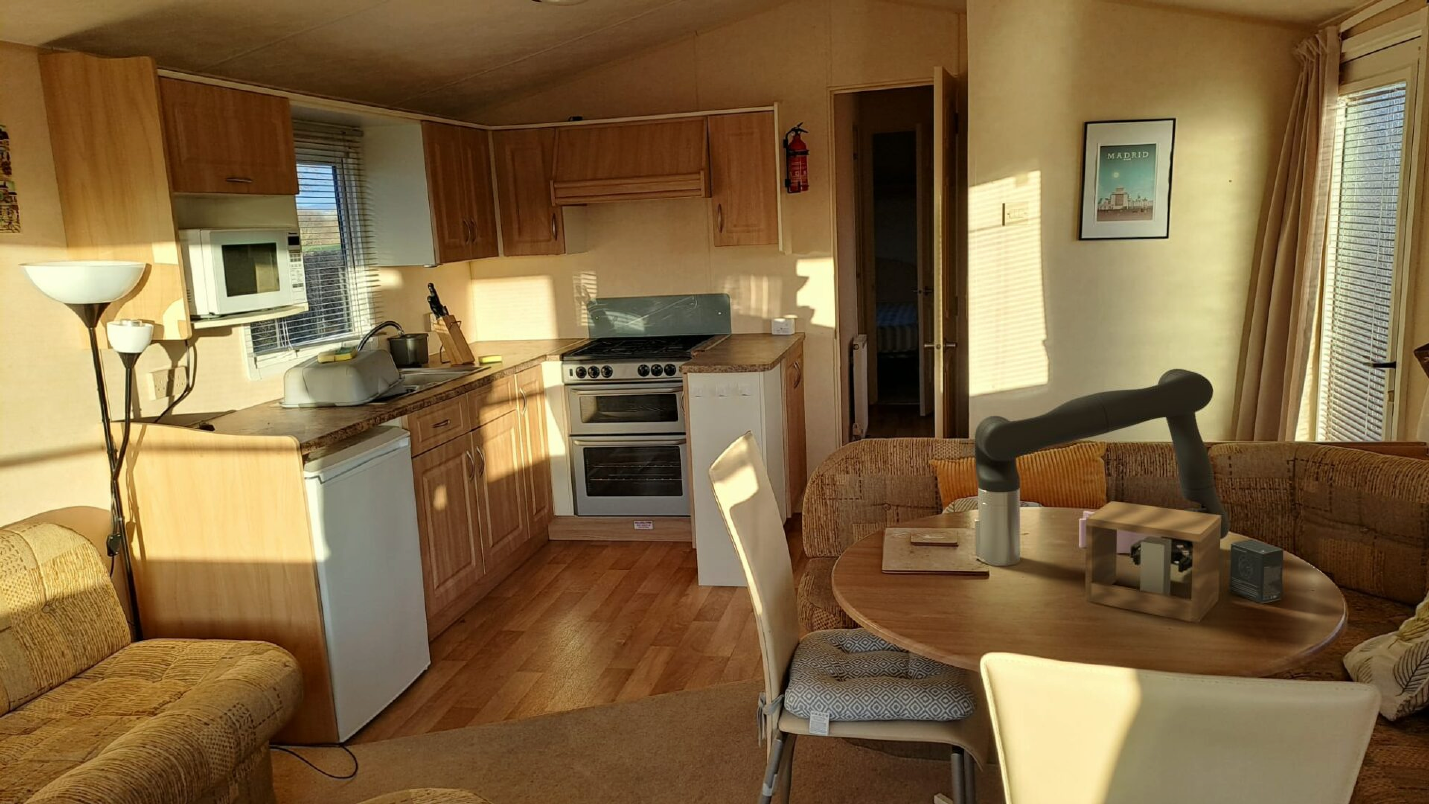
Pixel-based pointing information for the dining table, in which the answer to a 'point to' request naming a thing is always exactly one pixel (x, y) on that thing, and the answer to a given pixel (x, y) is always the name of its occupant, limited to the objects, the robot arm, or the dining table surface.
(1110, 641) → the dining table surface
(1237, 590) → the box
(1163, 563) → the block
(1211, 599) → the shelf
